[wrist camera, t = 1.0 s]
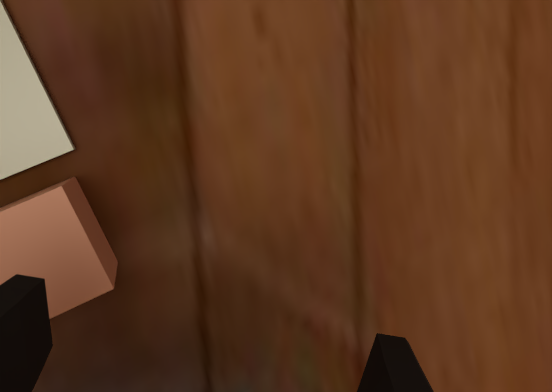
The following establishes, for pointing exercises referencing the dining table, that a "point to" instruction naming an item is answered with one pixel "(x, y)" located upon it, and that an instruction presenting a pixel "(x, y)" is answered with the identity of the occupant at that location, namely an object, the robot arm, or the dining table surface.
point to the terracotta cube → (57, 246)
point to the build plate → (25, 108)
